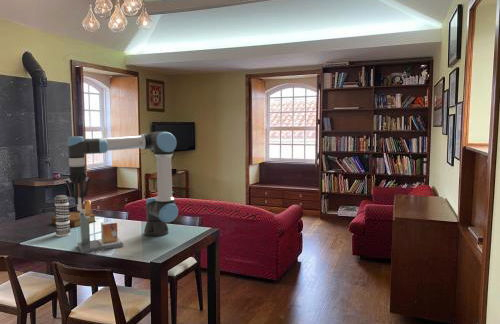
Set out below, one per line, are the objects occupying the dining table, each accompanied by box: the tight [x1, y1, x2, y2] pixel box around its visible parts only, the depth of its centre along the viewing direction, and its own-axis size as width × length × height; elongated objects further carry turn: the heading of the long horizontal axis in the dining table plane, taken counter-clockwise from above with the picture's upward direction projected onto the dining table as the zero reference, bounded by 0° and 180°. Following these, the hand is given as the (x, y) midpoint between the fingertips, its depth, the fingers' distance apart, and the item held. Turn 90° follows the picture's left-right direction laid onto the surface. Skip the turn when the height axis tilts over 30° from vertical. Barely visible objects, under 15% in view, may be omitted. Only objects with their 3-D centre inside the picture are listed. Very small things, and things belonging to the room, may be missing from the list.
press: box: [76, 213, 124, 254], centre depth 222 cm, size 22×15×19 cm
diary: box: [50, 211, 97, 228], centre depth 278 cm, size 23×19×6 cm
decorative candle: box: [53, 194, 72, 237], centre depth 247 cm, size 9×9×25 cm
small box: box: [100, 220, 119, 242], centre depth 224 cm, size 8×6×10 cm
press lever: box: [79, 199, 92, 218], centre depth 215 cm, size 18×4×10 cm, turn 31°
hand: (79, 210), depth 207 cm, fingers closed
